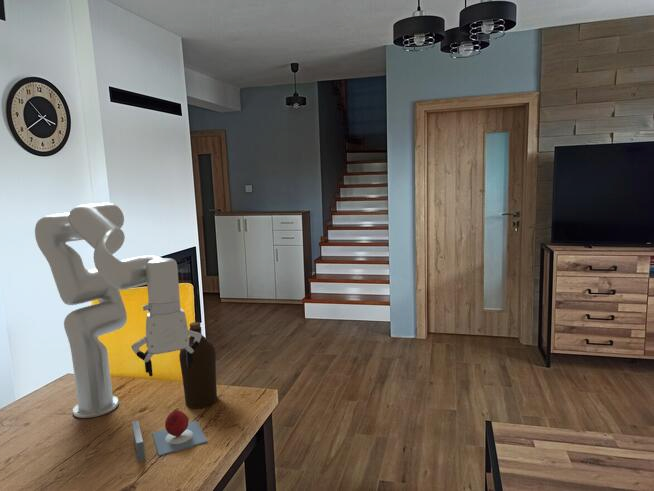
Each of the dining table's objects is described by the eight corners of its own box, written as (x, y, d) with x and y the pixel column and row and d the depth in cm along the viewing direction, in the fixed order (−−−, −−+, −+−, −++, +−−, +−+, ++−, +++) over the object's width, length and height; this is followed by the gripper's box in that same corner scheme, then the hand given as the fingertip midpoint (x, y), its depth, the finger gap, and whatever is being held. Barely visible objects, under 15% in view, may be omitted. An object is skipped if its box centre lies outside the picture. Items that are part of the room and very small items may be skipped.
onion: (182, 443, 120) (179, 414, 119) (162, 441, 121) (159, 413, 120) (193, 431, 126) (190, 403, 125) (173, 429, 127) (171, 402, 126)
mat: (152, 434, 126) (152, 432, 126) (197, 421, 132) (197, 420, 132) (159, 456, 116) (158, 454, 116) (207, 442, 121) (207, 440, 121)
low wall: (133, 439, 124) (131, 421, 123) (139, 437, 125) (137, 420, 124) (138, 462, 114) (136, 443, 113) (145, 460, 114) (143, 441, 113)
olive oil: (216, 408, 139) (210, 327, 136) (180, 411, 138) (172, 330, 135) (221, 392, 150) (215, 317, 146) (187, 395, 149) (180, 319, 145)
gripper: (129, 316, 112) (135, 383, 114) (202, 305, 119) (206, 368, 122) (126, 308, 118) (132, 372, 121) (195, 298, 126) (200, 358, 129)
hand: (169, 370), depth 121 cm, fingers open, 9 cm apart
